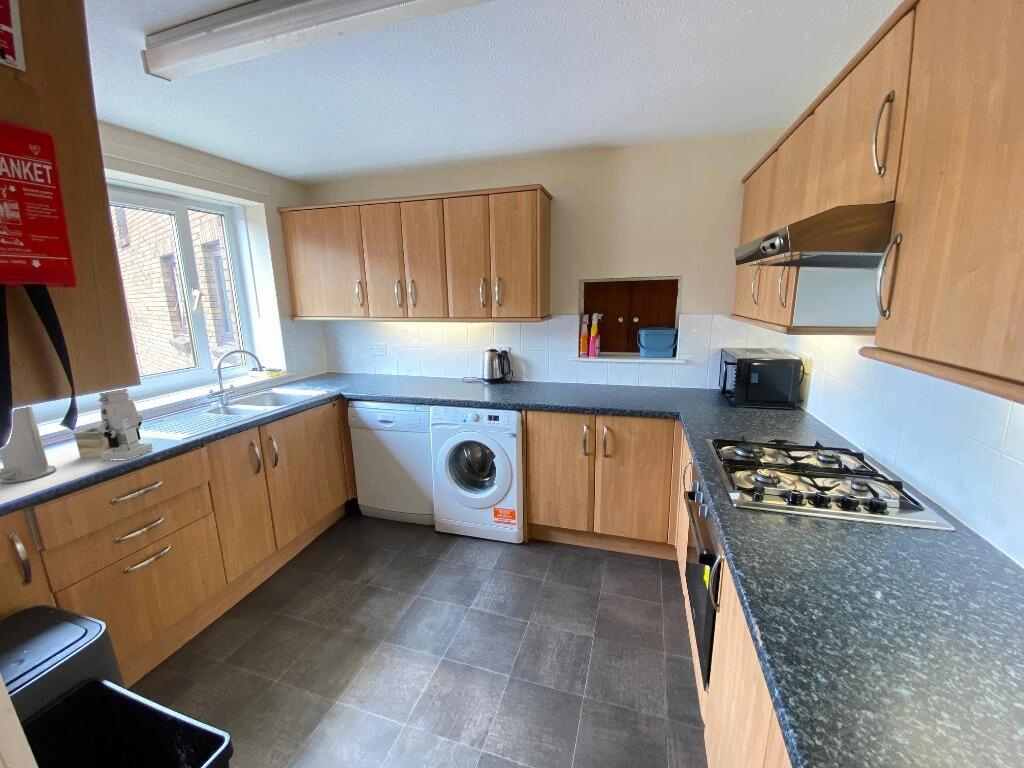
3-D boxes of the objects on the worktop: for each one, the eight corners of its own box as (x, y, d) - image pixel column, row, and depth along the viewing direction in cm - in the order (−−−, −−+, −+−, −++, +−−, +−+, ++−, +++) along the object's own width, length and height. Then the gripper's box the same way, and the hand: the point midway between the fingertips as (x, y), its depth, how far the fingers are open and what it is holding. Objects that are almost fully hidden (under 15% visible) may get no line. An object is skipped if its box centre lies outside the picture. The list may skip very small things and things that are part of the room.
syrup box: (142, 452, 163) (134, 415, 160) (131, 457, 157) (122, 419, 154) (125, 453, 162) (117, 416, 159) (114, 458, 156) (105, 421, 153)
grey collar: (128, 460, 154) (126, 452, 153) (102, 460, 155) (100, 452, 154) (153, 450, 164) (151, 443, 163) (128, 450, 165) (127, 443, 164)
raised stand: (104, 457, 159) (98, 432, 157) (80, 457, 159) (74, 433, 157) (130, 447, 168) (124, 424, 166) (106, 448, 169) (101, 425, 167)
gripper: (100, 403, 146) (111, 451, 150) (146, 392, 163) (155, 436, 167) (80, 404, 147) (92, 452, 150) (128, 393, 164) (138, 436, 167)
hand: (125, 443), depth 159 cm, fingers open, 7 cm apart
